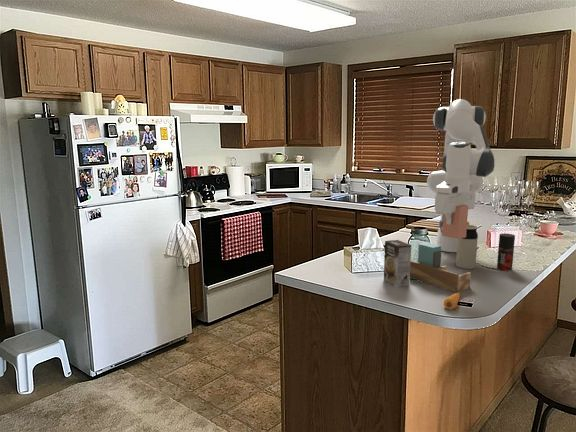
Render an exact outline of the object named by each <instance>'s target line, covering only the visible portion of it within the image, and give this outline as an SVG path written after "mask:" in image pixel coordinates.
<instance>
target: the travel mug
mask: <svg viewBox="0 0 576 432" xmlns="http://www.w3.org/2000/svg"><path fill="white" fill-rule="evenodd" d="M478 228H479V227H478V226H477V225H474V224H469V225H467V232H466V237H465V238H461V239H458V242H457V252H456V259H455V261H456V262H455V266H456V267H458V268H459V269H465V270H473V269H475V268H476V266H477V251H478V250H477V249H478V248H477V245H478V236H479V234H478V232H477V229H478Z"/></svg>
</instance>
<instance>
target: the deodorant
mask: <svg viewBox="0 0 576 432" xmlns="http://www.w3.org/2000/svg"><path fill="white" fill-rule="evenodd" d="M515 238H516V234H513V233H505V232H504V233H499V237H498V248H497V249H498V250H497V261H496V262H497V263H496V270H498V271H502V272H512V270H513V264H514V263H513V262H514V251H515Z"/></svg>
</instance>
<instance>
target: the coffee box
mask: <svg viewBox="0 0 576 432" xmlns="http://www.w3.org/2000/svg"><path fill="white" fill-rule="evenodd" d="M411 256H412V245H411V244H409V243H407V242H404V241H402V240H400V239H394V240H393V239H391V240H385V241H384V260H383V262H384V264H383V280H384V281H386V282H387V283H389V284H391V285H393V286H394V285H395V286H394V287H396V286H397V287H401V286H402V285H403V286H409V285H410V278H409V277H410V261H411ZM408 284H409V285H408Z"/></svg>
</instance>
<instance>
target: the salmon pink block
mask: <svg viewBox="0 0 576 432" xmlns="http://www.w3.org/2000/svg"><path fill="white" fill-rule="evenodd" d="M468 212H469V210H468V205H461V206H456V211H455V212H453V213H452V215H451V219H452V220H453V224H450V225H449V224H446V217H445V214H443V217H442V236H446V237H451V238H455V239H461V238H465V237H466V232H467V222H468V216H469V215H468V214H469V213H468Z"/></svg>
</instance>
